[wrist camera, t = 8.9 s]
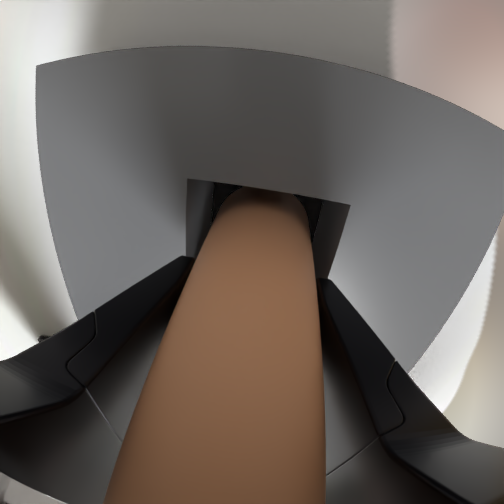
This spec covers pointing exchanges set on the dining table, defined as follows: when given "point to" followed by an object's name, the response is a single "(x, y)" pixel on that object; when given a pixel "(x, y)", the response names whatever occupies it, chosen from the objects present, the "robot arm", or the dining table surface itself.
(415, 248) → the socket block
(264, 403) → the peg
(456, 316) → the dining table surface
